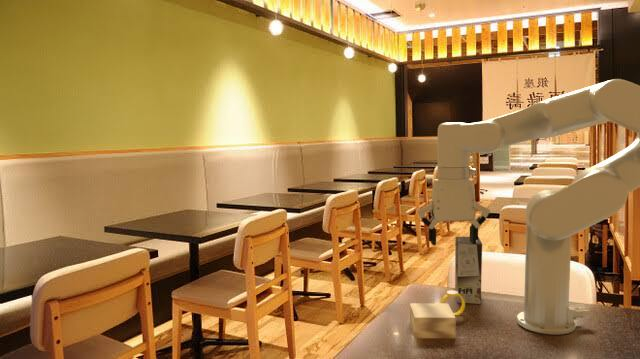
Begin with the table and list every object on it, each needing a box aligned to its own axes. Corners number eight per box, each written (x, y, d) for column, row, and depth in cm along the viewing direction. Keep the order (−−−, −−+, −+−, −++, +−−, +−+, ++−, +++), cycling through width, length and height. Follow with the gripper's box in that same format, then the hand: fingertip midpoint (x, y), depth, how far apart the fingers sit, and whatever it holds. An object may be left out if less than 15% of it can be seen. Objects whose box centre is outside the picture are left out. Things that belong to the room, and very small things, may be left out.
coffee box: (481, 304, 135) (482, 243, 134) (456, 303, 137) (457, 243, 135) (478, 292, 144) (479, 236, 142) (454, 291, 146) (455, 235, 144)
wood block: (447, 323, 124) (447, 303, 124) (455, 339, 115) (455, 317, 115) (409, 323, 125) (409, 303, 124) (414, 339, 116) (414, 317, 115)
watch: (443, 319, 127) (442, 295, 126) (439, 314, 130) (438, 292, 129) (467, 315, 128) (465, 292, 127) (462, 311, 130) (461, 288, 130)
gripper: (484, 171, 128) (483, 239, 130) (414, 173, 128) (414, 240, 130) (494, 174, 121) (493, 246, 123) (420, 176, 121) (420, 248, 123)
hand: (453, 243), depth 127 cm, fingers open, 9 cm apart
